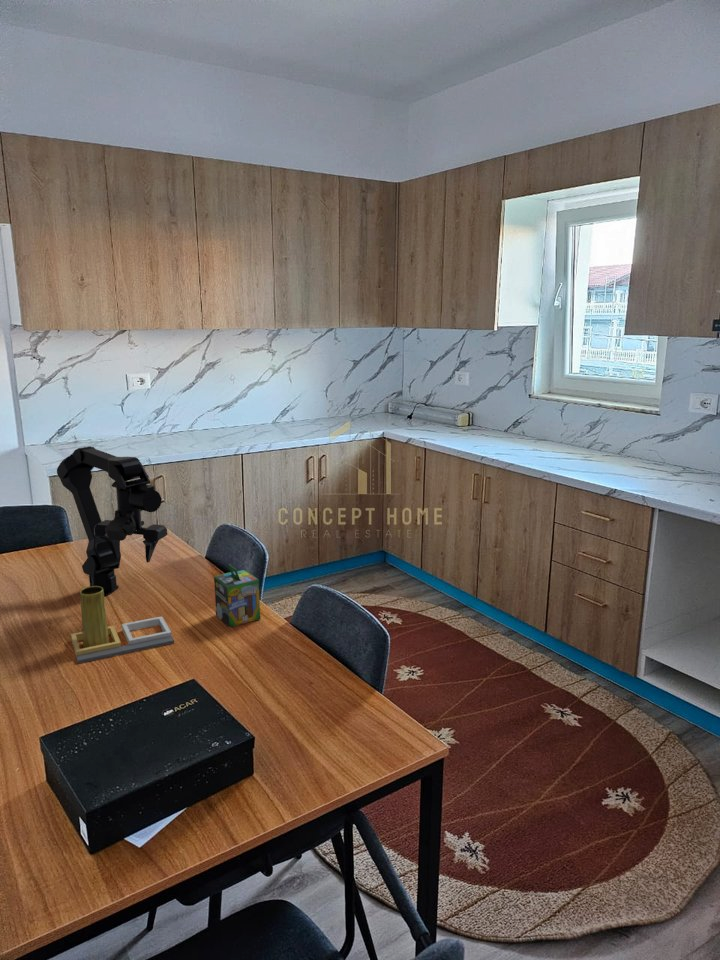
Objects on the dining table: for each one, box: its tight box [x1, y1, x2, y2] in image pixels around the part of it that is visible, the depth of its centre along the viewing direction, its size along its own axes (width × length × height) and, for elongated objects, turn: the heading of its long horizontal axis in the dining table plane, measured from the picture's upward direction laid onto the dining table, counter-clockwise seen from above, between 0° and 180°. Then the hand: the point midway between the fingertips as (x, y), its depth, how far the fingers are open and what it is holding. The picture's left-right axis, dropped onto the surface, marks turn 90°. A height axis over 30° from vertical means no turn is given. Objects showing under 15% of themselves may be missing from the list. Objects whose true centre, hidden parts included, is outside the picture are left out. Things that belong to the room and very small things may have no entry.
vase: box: [79, 585, 111, 648], centre depth 164 cm, size 6×6×14 cm
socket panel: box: [70, 616, 175, 664], centre depth 167 cm, size 22×12×2 cm, turn 118°
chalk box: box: [213, 563, 261, 628], centre depth 180 cm, size 9×9×15 cm
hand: (132, 560), depth 185 cm, fingers open, 9 cm apart
